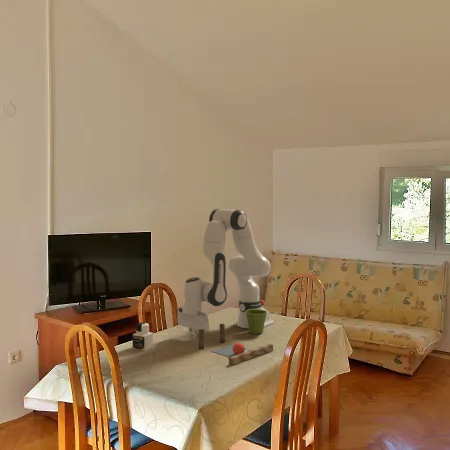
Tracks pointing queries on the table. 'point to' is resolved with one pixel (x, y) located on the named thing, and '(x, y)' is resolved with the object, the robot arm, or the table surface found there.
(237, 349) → the ball
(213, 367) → the table surface
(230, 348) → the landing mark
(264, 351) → the stopper wall
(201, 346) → the post
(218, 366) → the table surface
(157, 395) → the table surface
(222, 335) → the post
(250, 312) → the plant pot
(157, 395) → the table surface
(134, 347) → the medicine bottle
